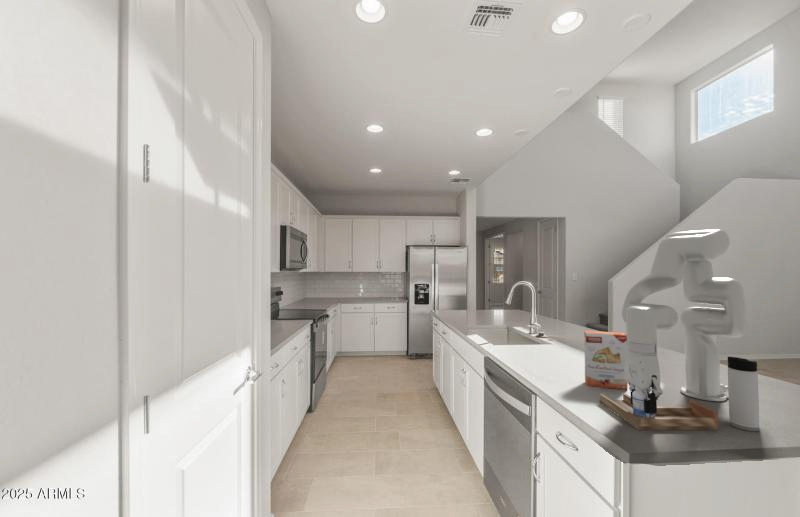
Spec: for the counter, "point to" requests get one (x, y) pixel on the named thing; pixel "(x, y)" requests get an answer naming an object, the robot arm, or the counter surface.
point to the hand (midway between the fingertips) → (643, 408)
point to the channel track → (665, 416)
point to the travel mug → (743, 394)
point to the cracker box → (605, 359)
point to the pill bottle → (640, 403)
